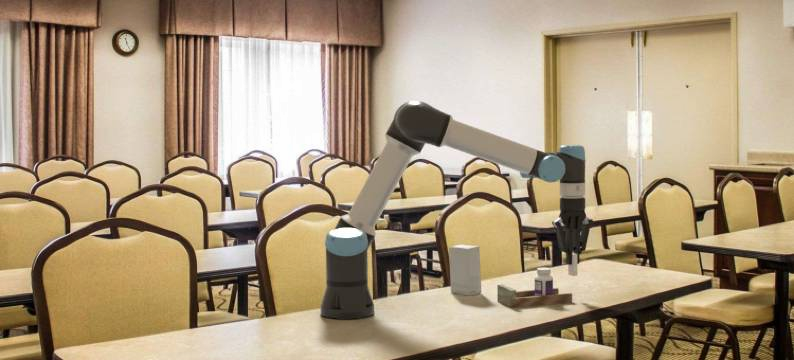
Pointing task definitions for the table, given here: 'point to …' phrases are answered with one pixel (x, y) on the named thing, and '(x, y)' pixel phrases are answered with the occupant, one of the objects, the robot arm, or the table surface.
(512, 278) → the table surface
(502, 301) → the rail
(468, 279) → the skincare box
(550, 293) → the pill bottle
